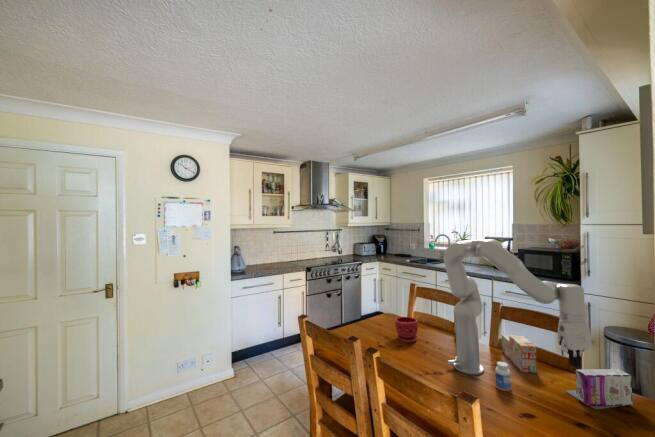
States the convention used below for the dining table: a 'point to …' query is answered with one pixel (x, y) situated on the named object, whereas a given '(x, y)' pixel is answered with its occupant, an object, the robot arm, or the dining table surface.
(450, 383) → the dining table surface
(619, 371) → the candy bar box
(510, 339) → the printed cardboard carton
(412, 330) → the plant pot
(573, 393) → the mat
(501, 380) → the pill bottle
